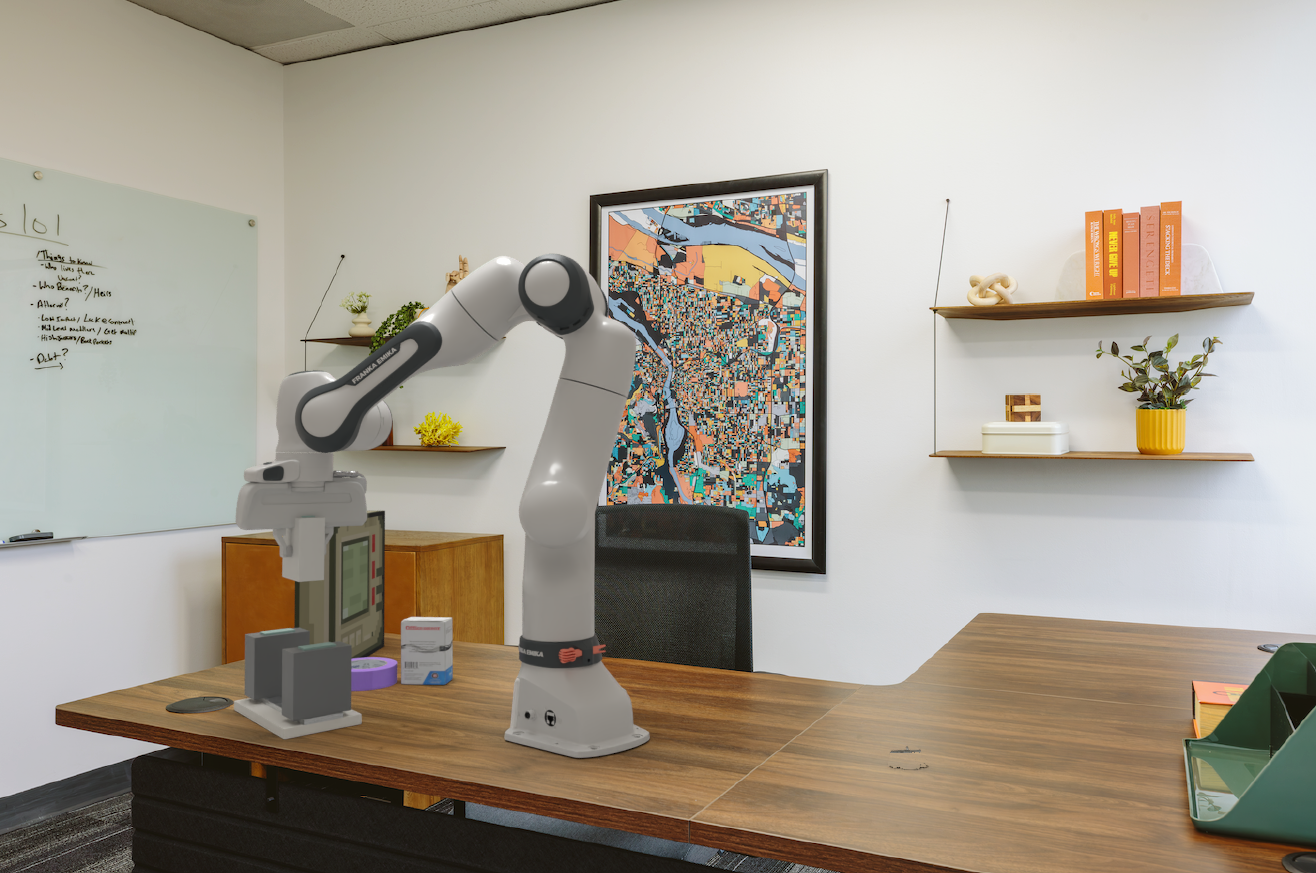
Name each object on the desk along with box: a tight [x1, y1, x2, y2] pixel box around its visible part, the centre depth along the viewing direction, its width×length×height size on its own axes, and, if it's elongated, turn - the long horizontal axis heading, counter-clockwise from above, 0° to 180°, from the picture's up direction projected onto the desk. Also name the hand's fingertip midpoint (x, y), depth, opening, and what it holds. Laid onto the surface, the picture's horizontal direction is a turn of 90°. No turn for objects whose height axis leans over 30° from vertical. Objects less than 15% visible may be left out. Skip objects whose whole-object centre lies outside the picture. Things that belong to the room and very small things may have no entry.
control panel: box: [293, 510, 386, 659], centre depth 191 cm, size 30×8×30 cm, turn 178°
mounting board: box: [233, 697, 363, 740], centre depth 149 cm, size 22×12×2 cm, turn 42°
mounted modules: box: [244, 627, 352, 721], centre depth 149 cm, size 21×9×10 cm, turn 42°
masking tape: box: [351, 656, 398, 692], centre depth 172 cm, size 12×12×4 cm
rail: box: [257, 695, 343, 725], centre depth 149 cm, size 22×6×1 cm, turn 42°
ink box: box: [400, 616, 454, 686], centre depth 173 cm, size 8×5×12 cm, turn 84°
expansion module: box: [281, 516, 325, 582], centre depth 151 cm, size 4×8×10 cm, turn 39°
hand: (303, 556), depth 151 cm, fingers closed on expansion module, 4 cm apart
